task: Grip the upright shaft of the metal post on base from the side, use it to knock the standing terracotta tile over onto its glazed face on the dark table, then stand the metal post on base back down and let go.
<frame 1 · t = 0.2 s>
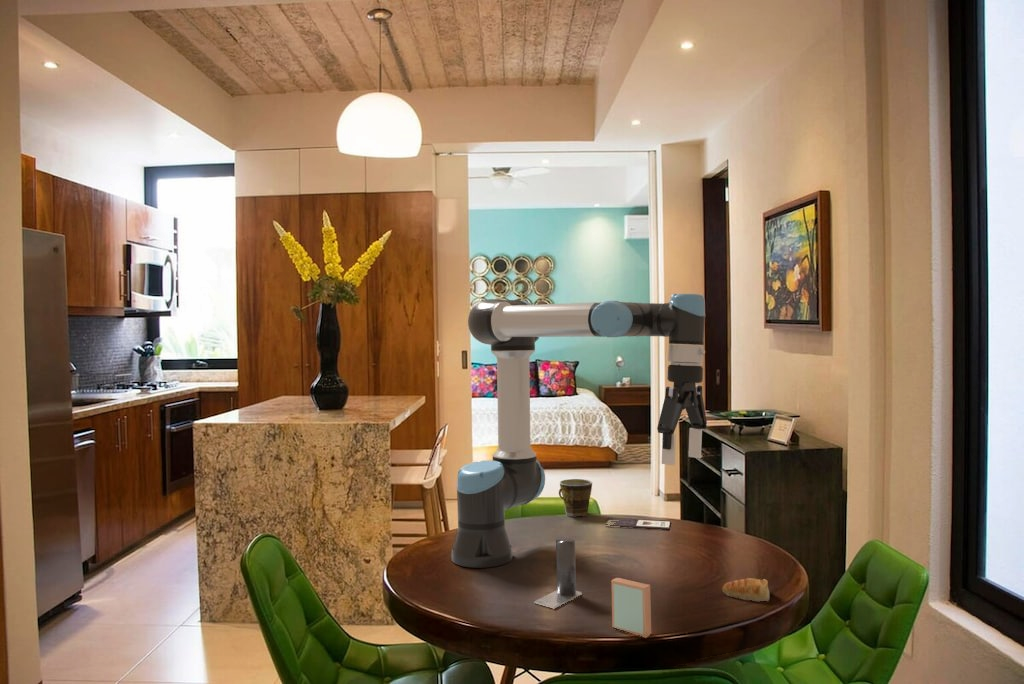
hand: (681, 461, 154), 27 cm above the table, tool pointing down, fingers open, 13 cm apart
tile: (631, 631, 129), on the table
ceramic cup: (573, 516, 214), on the table
pastry: (749, 598, 146), on the table
chocolate bar: (637, 526, 203), on the table
metal post on base: (566, 595, 148), on the table
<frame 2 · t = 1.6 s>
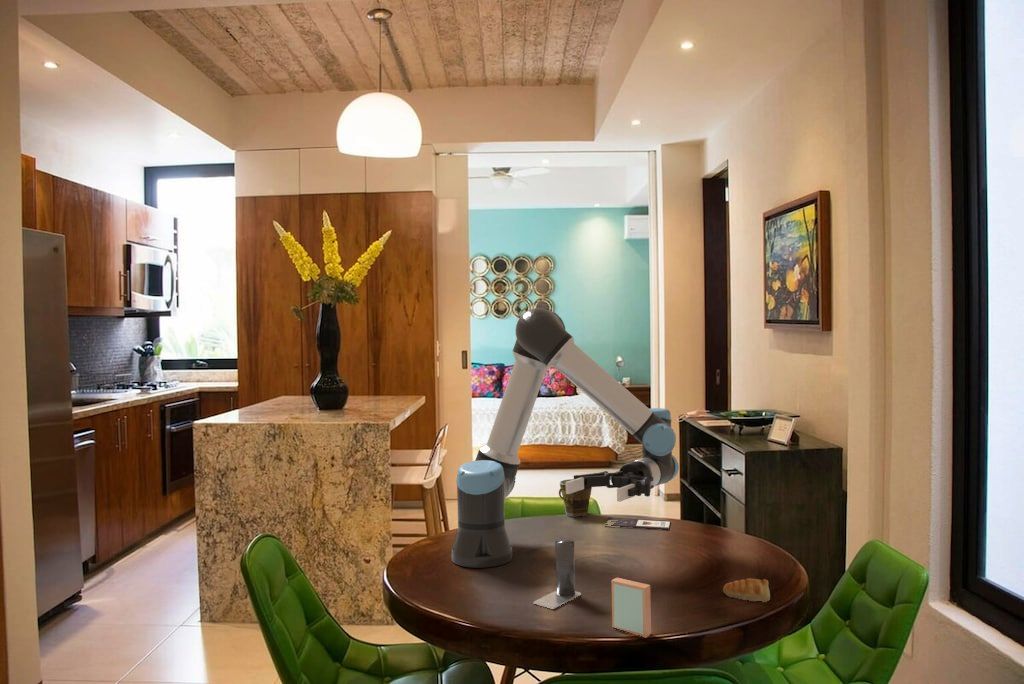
hand: (591, 491, 156), 20 cm above the table, tool horizontal, fingers open, 13 cm apart
nothing on the table moved.
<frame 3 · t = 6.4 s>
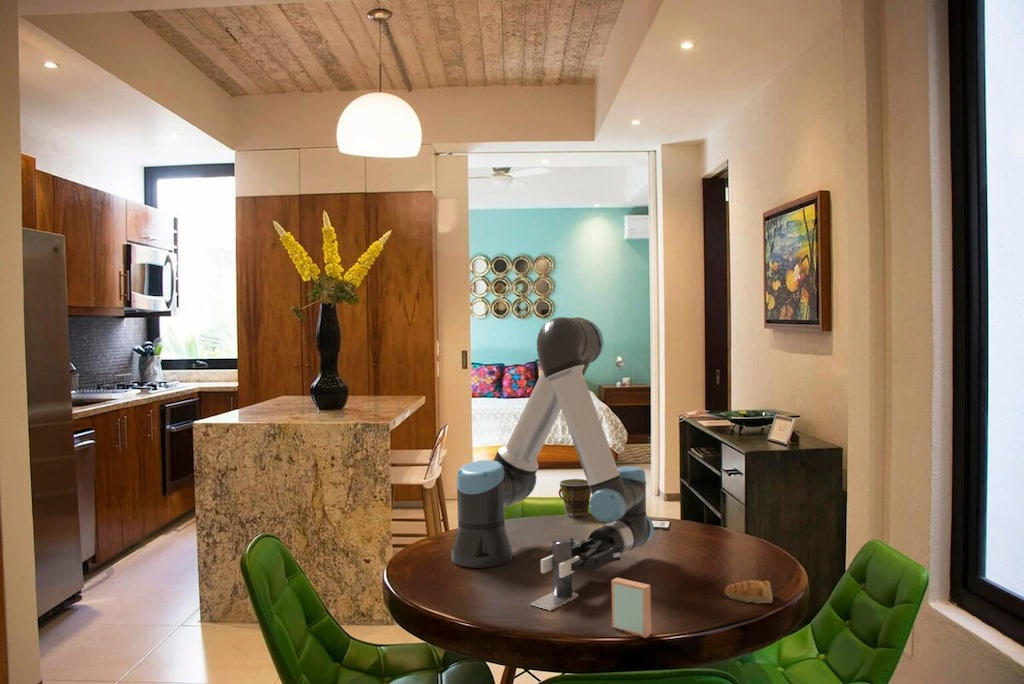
hand: (551, 568, 144), 7 cm above the table, tool horizontal, fingers closed on metal post on base, 4 cm apart
metal post on base: (563, 596, 147), on the table, touching gripper
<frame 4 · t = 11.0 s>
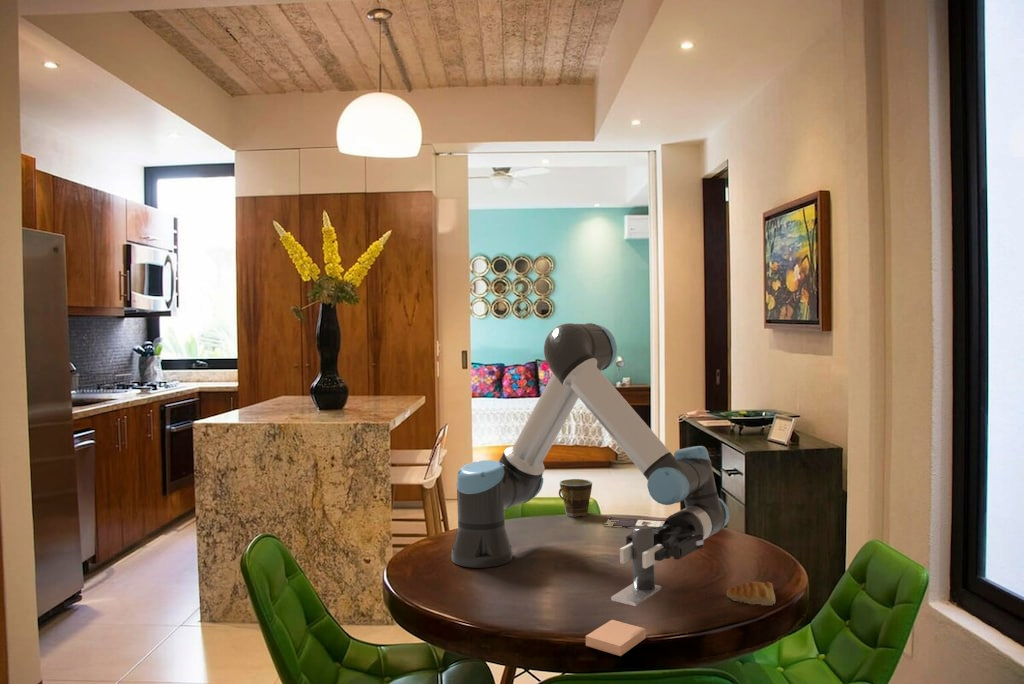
hand: (632, 558, 129), 14 cm above the table, tool horizontal, fingers closed on metal post on base, 4 cm apart
tile: (628, 629, 129), point 1 cm above the table, tilted 90°
metal post on base: (644, 589, 132), point 7 cm above the table, touching gripper
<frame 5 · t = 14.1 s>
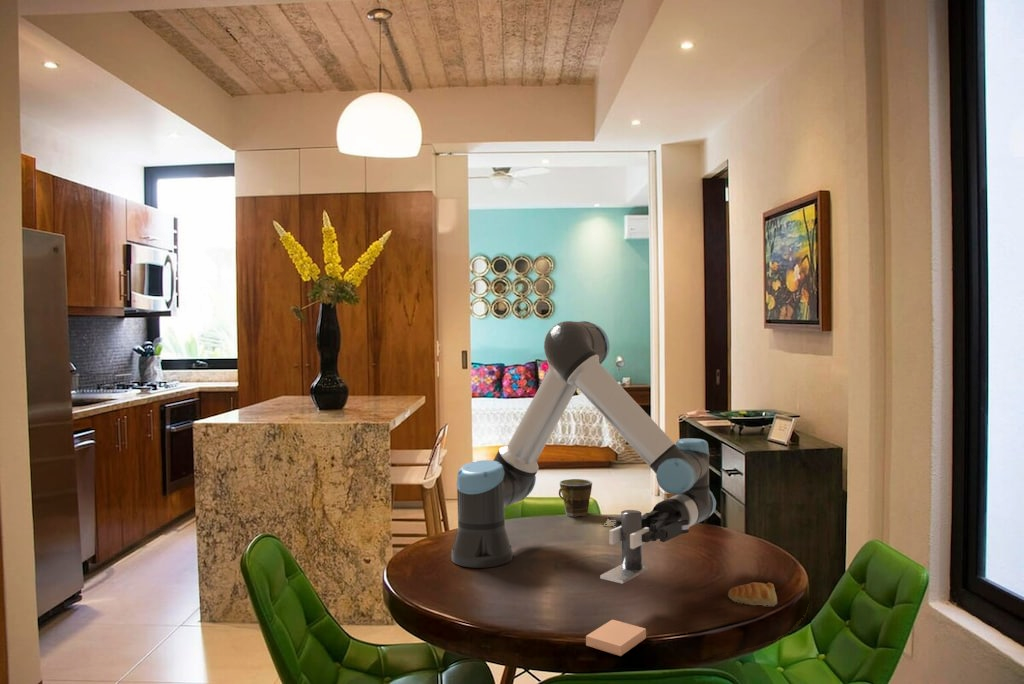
hand: (621, 539, 138), 15 cm above the table, tool horizontal, fingers closed on metal post on base, 4 cm apart
metal post on base: (631, 569, 141), point 8 cm above the table, touching gripper
when the fingers open (8 cm above the table, at t = 16.6 s): metal post on base drops 1 cm, on the table.
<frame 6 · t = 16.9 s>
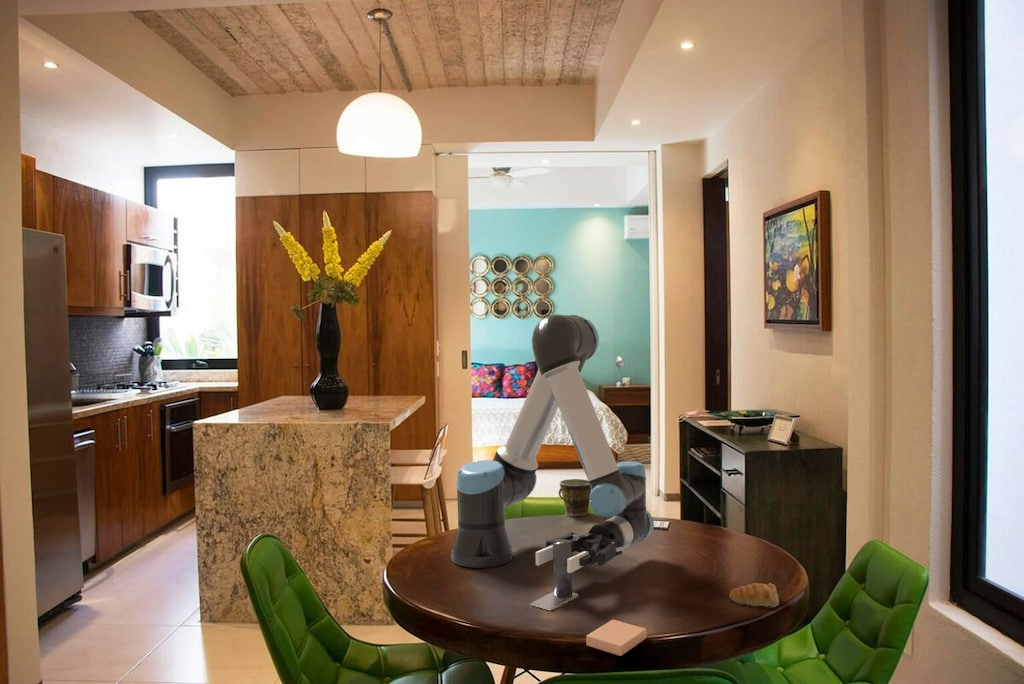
hand: (552, 562, 144), 8 cm above the table, tool horizontal, fingers open, 7 cm apart
metal post on base: (563, 597, 147), on the table
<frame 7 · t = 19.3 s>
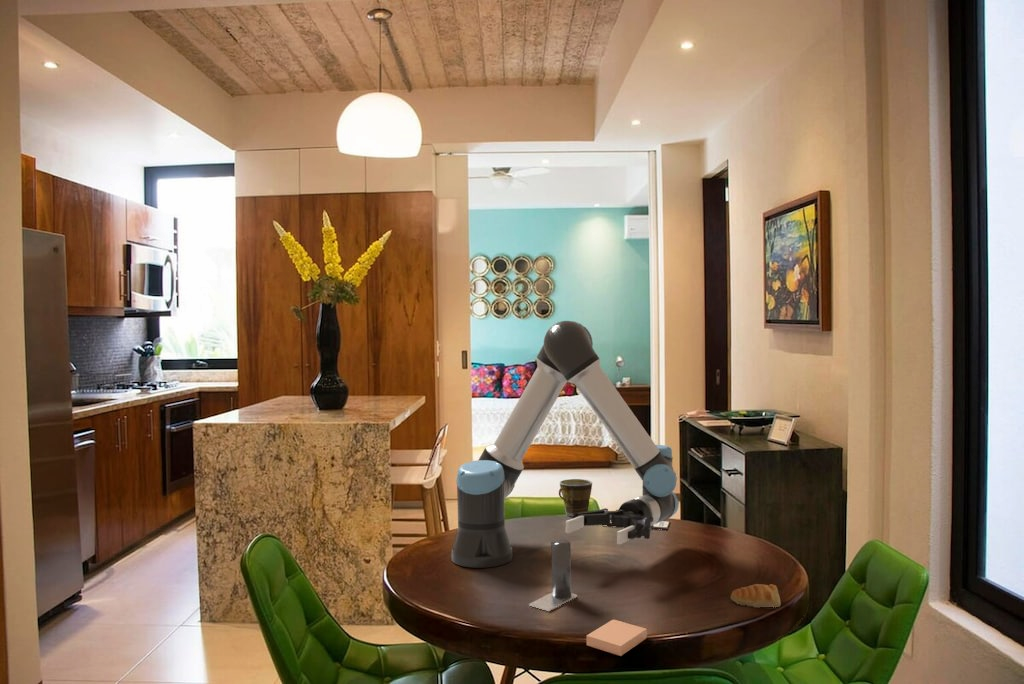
hand: (591, 532, 156), 11 cm above the table, tool horizontal, fingers open, 13 cm apart
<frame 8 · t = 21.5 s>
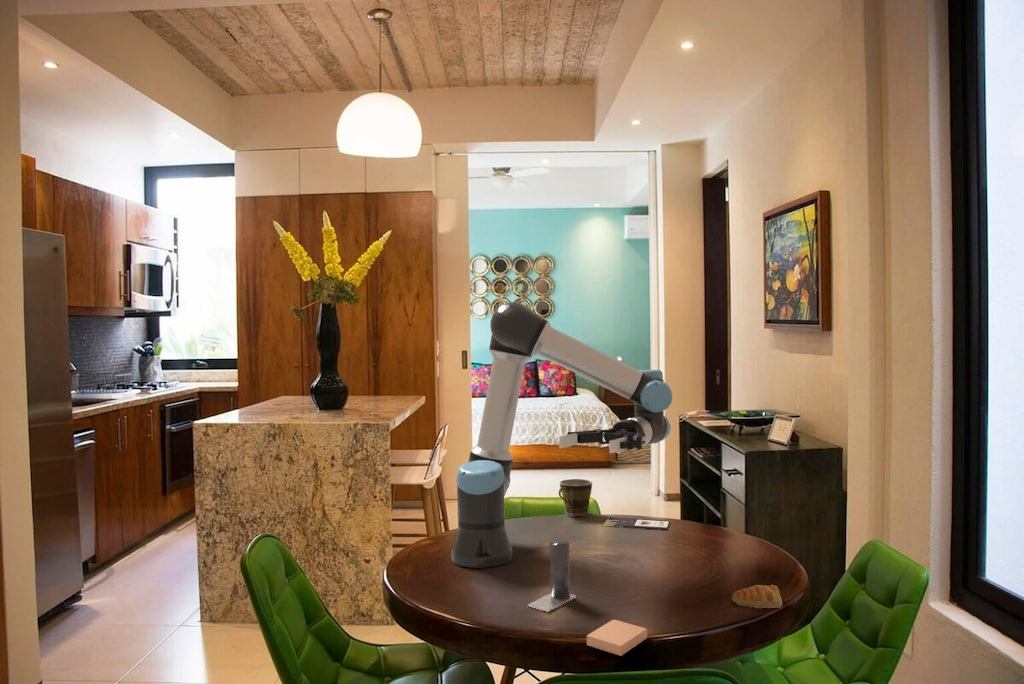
hand: (584, 444, 160), 30 cm above the table, tool horizontal, fingers open, 13 cm apart
at the end: tile tilted 90°; the gripper is holding nothing; metal post on base on the table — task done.
